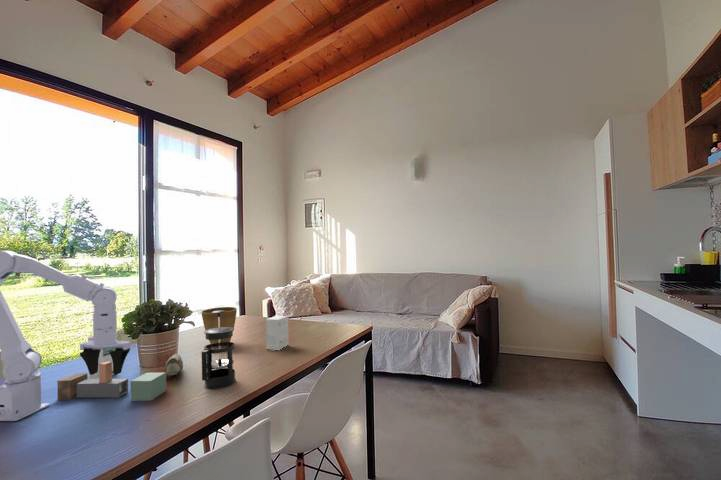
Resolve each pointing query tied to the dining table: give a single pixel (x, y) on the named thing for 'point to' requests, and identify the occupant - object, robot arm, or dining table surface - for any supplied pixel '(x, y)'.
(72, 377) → the brown wooden block
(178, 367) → the decorative bird
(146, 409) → the dining table surface
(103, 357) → the syrup box
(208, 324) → the plant pot
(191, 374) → the dining table surface
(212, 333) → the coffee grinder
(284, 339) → the small box
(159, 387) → the socket block
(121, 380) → the stand with post
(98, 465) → the dining table surface
